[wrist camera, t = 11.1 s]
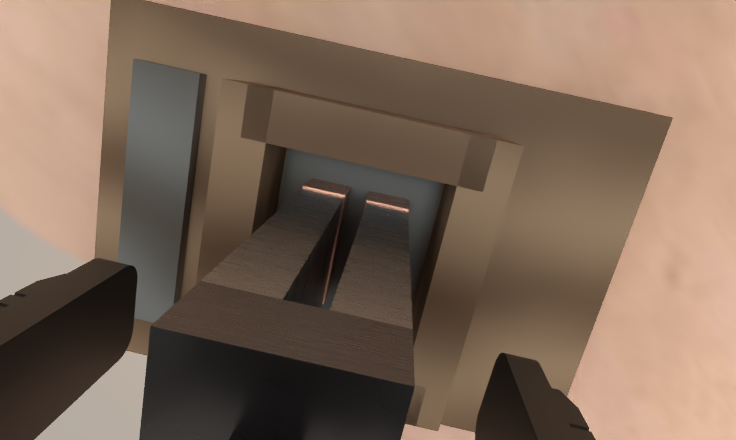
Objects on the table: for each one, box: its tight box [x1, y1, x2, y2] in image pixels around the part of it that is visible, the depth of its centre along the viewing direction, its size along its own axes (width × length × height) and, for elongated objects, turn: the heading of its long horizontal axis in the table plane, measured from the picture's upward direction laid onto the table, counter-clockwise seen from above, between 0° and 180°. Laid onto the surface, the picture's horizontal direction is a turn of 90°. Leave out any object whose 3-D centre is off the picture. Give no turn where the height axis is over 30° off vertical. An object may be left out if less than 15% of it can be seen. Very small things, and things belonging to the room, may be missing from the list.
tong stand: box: [95, 0, 672, 432], centre depth 17 cm, size 14×20×4 cm
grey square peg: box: [139, 178, 415, 440], centre depth 12 cm, size 4×4×13 cm
